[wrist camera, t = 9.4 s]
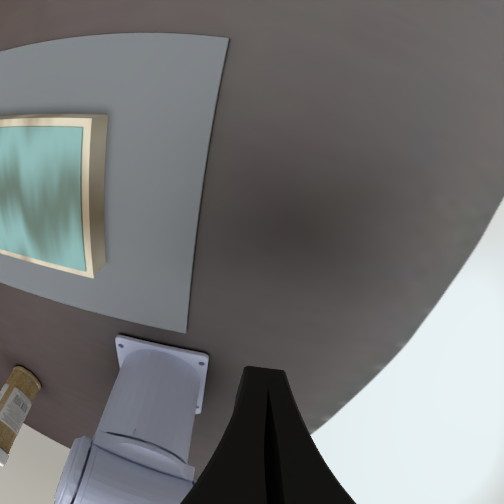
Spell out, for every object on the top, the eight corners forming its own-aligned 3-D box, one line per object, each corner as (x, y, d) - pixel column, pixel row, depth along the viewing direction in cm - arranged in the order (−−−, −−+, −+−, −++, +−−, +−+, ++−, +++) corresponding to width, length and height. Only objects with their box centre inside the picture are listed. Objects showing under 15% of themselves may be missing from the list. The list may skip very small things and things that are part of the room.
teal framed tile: (92, 279, 18) (-16, 249, 17) (105, 262, 20) (-1, 237, 19) (90, 118, 13) (-30, 122, 12) (108, 114, 15) (-10, 116, 14)
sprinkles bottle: (9, 361, 28) (-35, 438, 16) (33, 369, 28) (-12, 454, 16) (24, 383, 30) (-14, 458, 18) (47, 391, 30) (10, 472, 18)
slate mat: (186, 330, 23) (185, 333, 23) (-18, 272, 21) (-20, 274, 21) (229, 39, 13) (228, 38, 13) (-33, 62, 12) (-36, 62, 12)
